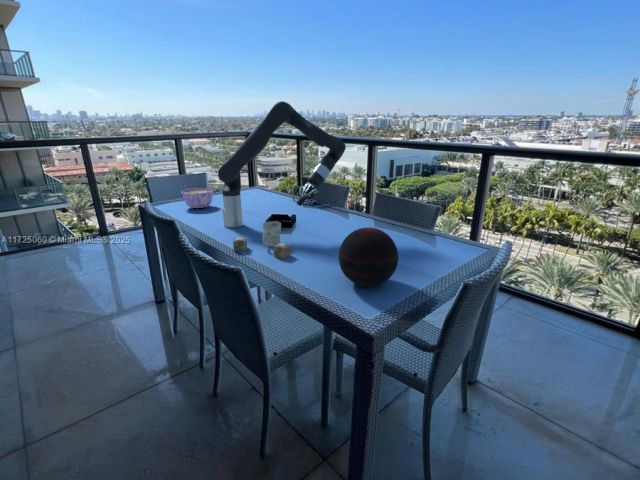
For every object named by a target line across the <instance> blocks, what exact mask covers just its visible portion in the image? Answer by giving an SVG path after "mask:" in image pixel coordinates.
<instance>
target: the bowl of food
mask: <svg viewBox="0 0 640 480" xmlns="http://www.w3.org/2000/svg"><path fill="white" fill-rule="evenodd" d="M181 194H182V197H183V200H184V202H185V204H186V205H187V207H190V208H192V209H193V208H204V207H206V208H207V207H208V206H210V205H211V204H212V203H213V197H214V189H213V188H209V187H194V188H188V189H183V190H181ZM204 209H205V208H204Z"/></svg>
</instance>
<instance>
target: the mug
mask: <svg viewBox="0 0 640 480" xmlns="http://www.w3.org/2000/svg"><path fill="white" fill-rule="evenodd" d="M262 228H263V229H262V230H263V234H262V243H263V245H265V246H266V247H267V246H268V247H270V248H272V247H273V248H274V246H275V245H277V244H279V243H281V231H282V223H281V222H279V221H276V220H275V221H274V220H273V221H272V220H271V221H270V220H269V221H266V222H263V223H262Z"/></svg>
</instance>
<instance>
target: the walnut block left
mask: <svg viewBox="0 0 640 480" xmlns="http://www.w3.org/2000/svg"><path fill="white" fill-rule="evenodd" d="M232 244H233V252H234V253H236V252H235V251H246V252H247V250H248V239H247V237H246V236H245V237H244V236H243V237H242V236H241V237H240V236H239V237H234V239H233V241H232ZM246 249H247V250H246Z"/></svg>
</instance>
